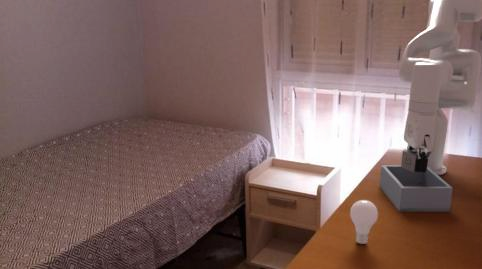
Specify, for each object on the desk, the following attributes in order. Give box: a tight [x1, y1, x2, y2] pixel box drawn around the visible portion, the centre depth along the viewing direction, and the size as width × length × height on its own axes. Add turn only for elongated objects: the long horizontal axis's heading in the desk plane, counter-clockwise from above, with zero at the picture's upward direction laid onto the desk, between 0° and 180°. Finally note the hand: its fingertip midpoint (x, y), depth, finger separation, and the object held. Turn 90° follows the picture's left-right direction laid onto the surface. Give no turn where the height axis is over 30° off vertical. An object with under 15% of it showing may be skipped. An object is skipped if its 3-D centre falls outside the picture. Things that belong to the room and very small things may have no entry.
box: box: [379, 164, 454, 213], centre depth 133 cm, size 18×14×7 cm
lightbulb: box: [349, 199, 379, 245], centre depth 108 cm, size 6×6×11 cm
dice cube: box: [400, 149, 428, 172], centre depth 131 cm, size 5×5×5 cm
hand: (415, 167), depth 132 cm, fingers closed on dice cube, 5 cm apart
